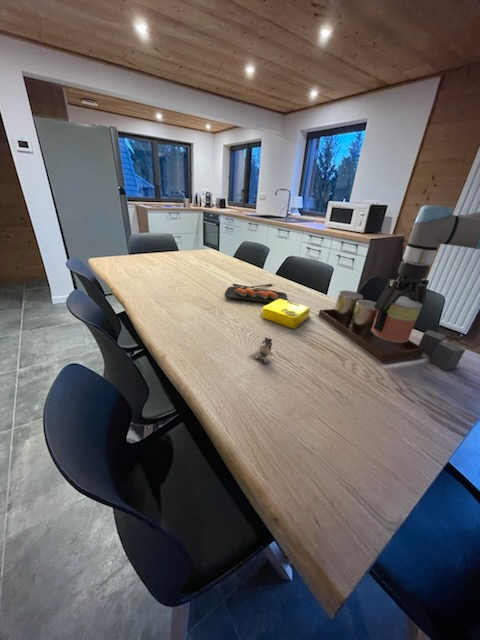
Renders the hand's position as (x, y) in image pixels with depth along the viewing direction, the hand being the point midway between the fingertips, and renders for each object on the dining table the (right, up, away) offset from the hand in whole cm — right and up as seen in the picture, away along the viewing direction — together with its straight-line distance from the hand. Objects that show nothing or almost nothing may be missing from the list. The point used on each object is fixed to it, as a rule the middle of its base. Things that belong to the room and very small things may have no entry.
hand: (391, 328), depth 87 cm
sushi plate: (-41, +16, +45) cm, 63 cm away
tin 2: (-4, -1, +13) cm, 14 cm away
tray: (-4, -3, +12) cm, 13 cm away
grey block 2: (+15, -12, -3) cm, 19 cm away
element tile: (-31, +4, +21) cm, 38 cm away
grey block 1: (+14, -8, +4) cm, 17 cm away
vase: (-43, -9, -7) cm, 44 cm away
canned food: (0, -2, +1) cm, 2 cm away
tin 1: (-7, +3, +21) cm, 23 cm away
